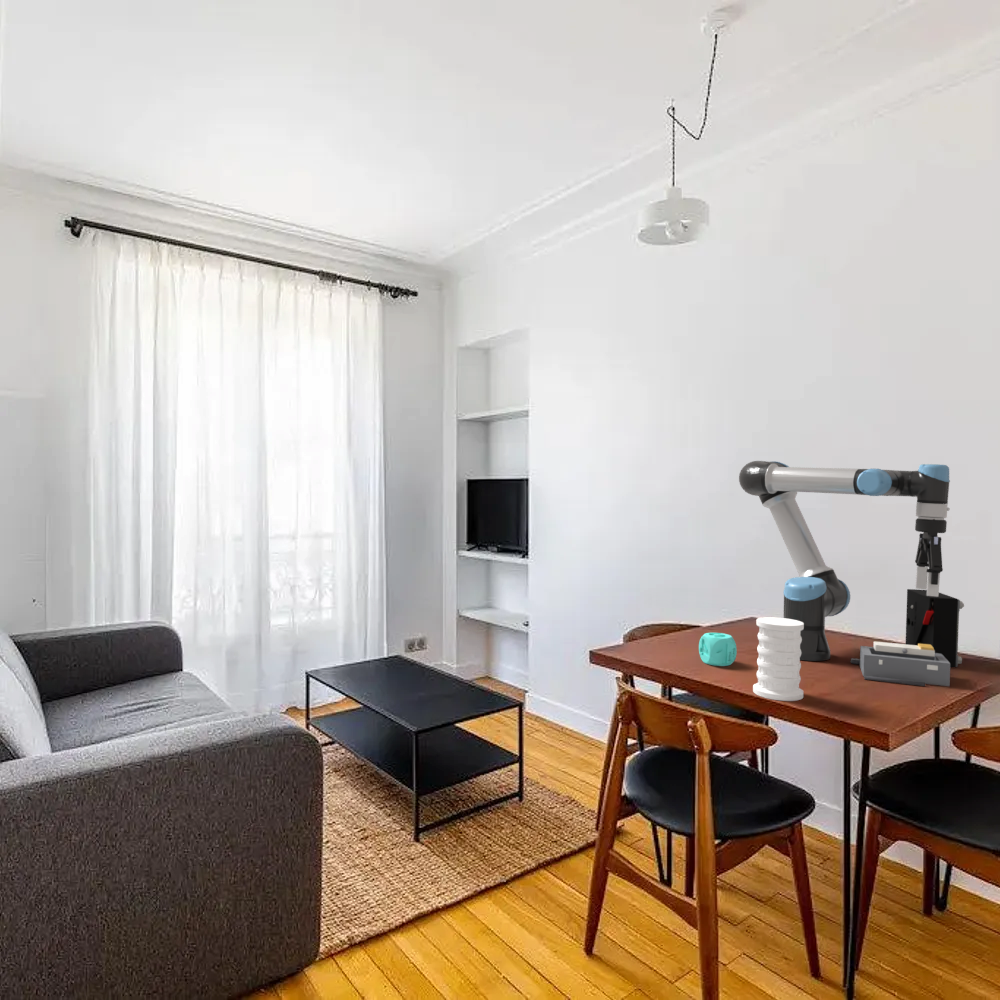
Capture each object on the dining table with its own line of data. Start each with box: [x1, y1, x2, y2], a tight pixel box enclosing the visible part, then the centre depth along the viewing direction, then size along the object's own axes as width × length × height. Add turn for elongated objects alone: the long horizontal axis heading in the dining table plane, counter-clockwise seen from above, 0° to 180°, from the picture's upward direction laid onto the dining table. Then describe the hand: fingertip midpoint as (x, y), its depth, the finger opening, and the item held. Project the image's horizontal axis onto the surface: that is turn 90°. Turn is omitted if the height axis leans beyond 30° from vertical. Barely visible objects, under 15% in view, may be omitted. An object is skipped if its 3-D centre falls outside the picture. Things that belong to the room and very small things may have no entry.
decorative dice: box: [698, 632, 738, 667], centre depth 201 cm, size 8×8×8 cm
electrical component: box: [905, 588, 965, 668], centre depth 209 cm, size 18×10×20 cm, turn 168°
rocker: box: [873, 641, 935, 657], centre depth 190 cm, size 14×6×2 cm, turn 67°
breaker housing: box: [859, 645, 951, 687], centre depth 190 cm, size 20×12×6 cm, turn 67°
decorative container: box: [752, 616, 804, 702], centre depth 171 cm, size 12×12×18 cm
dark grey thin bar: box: [863, 676, 926, 687], centre depth 183 cm, size 14×1×1 cm, turn 67°
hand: (926, 592), depth 198 cm, fingers open, 13 cm apart
